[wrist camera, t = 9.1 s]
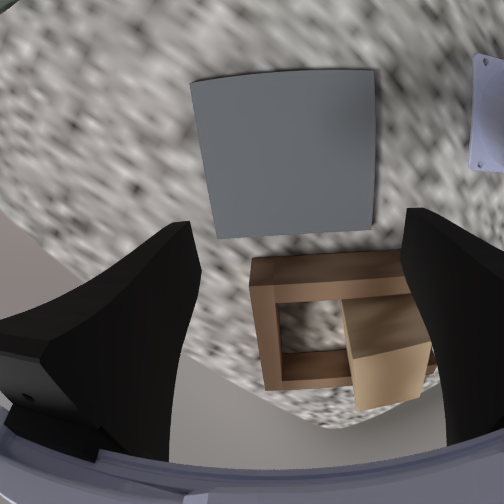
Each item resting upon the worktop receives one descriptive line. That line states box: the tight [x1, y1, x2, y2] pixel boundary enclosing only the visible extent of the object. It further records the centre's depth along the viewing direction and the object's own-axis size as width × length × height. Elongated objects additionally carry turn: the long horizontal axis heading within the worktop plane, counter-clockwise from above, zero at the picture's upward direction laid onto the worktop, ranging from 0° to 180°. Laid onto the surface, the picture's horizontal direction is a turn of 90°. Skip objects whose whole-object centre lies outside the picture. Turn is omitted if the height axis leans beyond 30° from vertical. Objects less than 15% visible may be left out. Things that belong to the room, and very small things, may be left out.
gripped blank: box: [340, 293, 432, 412], centre depth 22 cm, size 5×7×7 cm
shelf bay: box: [249, 249, 437, 391], centre depth 23 cm, size 16×12×3 cm
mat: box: [190, 70, 375, 239], centre depth 18 cm, size 10×10×1 cm
